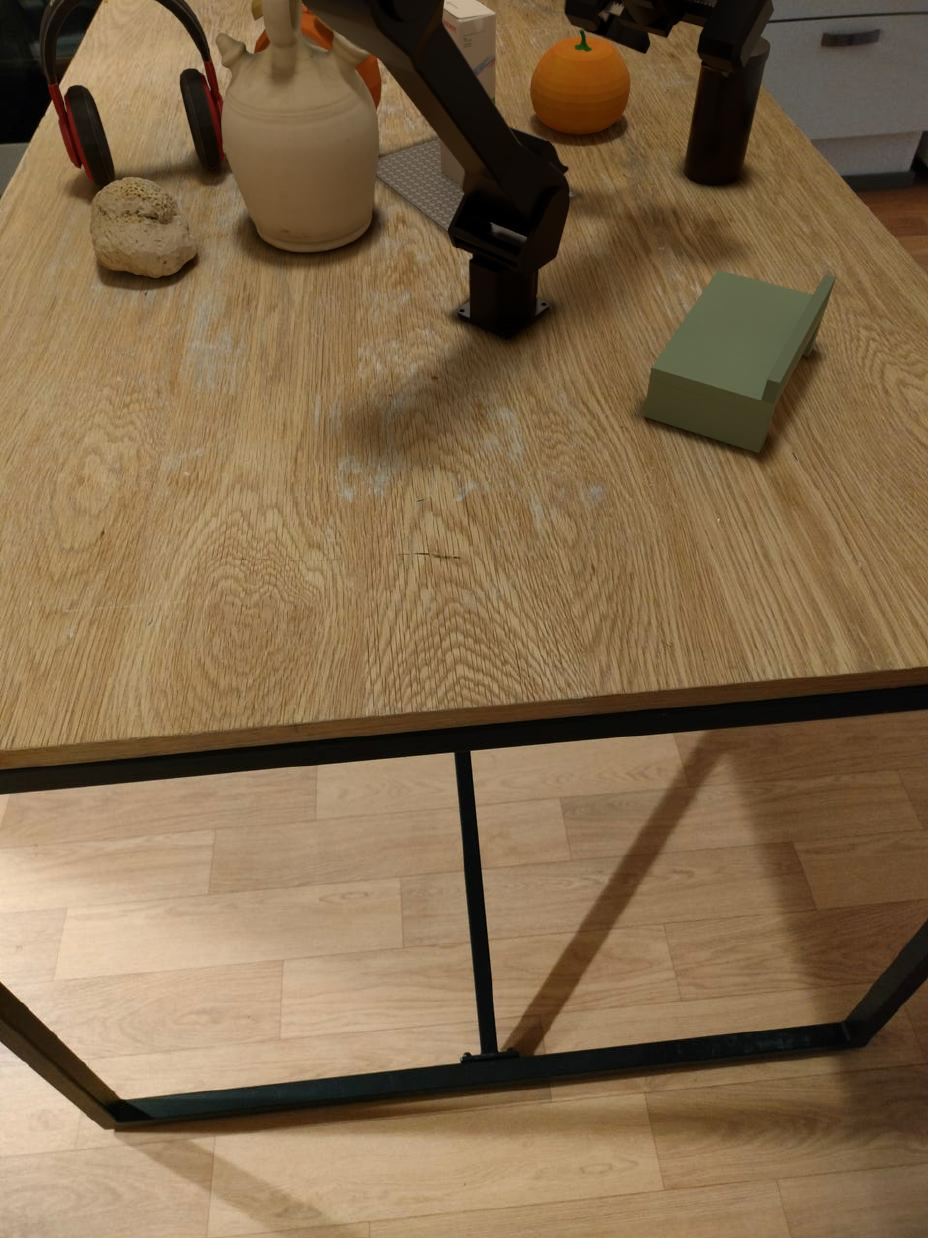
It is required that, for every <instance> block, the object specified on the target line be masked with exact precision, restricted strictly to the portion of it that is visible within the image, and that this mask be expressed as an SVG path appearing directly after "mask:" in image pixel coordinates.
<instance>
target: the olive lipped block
mask: <svg viewBox="0 0 928 1238" xmlns="http://www.w3.org/2000/svg"><path fill="white" fill-rule="evenodd" d="M836 279H837V277H835V276H832V275H829V274H824V275H823V276H822V278H821V280H820V282H819V284H818V285H817V288H816V289H815V291H814V292H813V293H809V292H806V291H802V290H798V289H794V288H791V287H786V286H782V285H779V284H775V283H770V282H767V281H763V280H759V279H755V278H751V277H747V276H745V275H744V276H743V275H741V274H736V273H733V272H728V271H724V270H721V269H717V270H716V272H715V273H714V274H713V276H712V278H711V279H710V281H709V282H708V283H707V285H706V286H705V287H704V289H703V291H702V292H701V293H700V295H699V296H698V298H697V300H696V301H695V302H694V304H693V306H692V307H691V308H690V310H689V311H688V313H687V314H686V316H685V317H684V319H683V320H682V322H681V323H680V325H679V326H678V328H677V329H676V330H675V332H674V334H673V335H672V337H671V338H670V339H669V341H668V343H666V346H665V347H664V348H663V350H662V351H661V353H660V354H659V356H658V357H657V359H656V360H655V362H654V363H653V365H652V366H651V368H650V374H649V380H648V386H647V393H646V399H645V403H644V410H643V417H644V418H646V419H650V420H654V421H656V422H660V423H663V424H666V425H669V426H672V427H675V428H678V429H682V430H685V431H688V432H691V433H694V434H697V435H701V436H704V437H707V438H710V439H713V440H715V441H719V442H722V443H725V444H727V445H731V446H734V447H737V448H740V449H745V450H746V451H747V450H748V451H750V452H753V453H756V454H759V453H760V452H761V450H762V448H763V446H764V444H765V443H766V439H767V435H768V432H769V429H770V426H771V423H772V420H773V416H774V412H775V409H776V406H777V404H778V402H779V400H780V398H781V396H782V394H783V392H784V390H785V388H786V387H787V384H788V383H789V381H790V379H791V377H792V375H793V374H794V372H795V369H796V368H797V365H798V363H799V362H800V360H801V358H802V356H804V357H810V355H811V353H812V351H813V349H814V347H815V344H816V340H817V338H818V334H819V331H820V328H821V325H822V322H823V319H824V316H825V312H826V310H827V307H828V304H829V301H830V298H831V295H832V292H833V288H834V285H835V282H836Z"/></svg>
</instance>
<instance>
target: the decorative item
mask: <svg viewBox="0 0 928 1238" xmlns="http://www.w3.org/2000/svg"><path fill="white" fill-rule="evenodd" d="M91 202H92V203H91V204H90V212H91V214H90V221H89V232H90V236H91V244H92V246H93V251H94V256H95V258H96V260H97V261H98V263H99V264H100V266H102V267H104V268H105V269H108V270H110V271H116V272H124V271H125V272H128V273H130V274H134V275H136V276H143V277H151V278H154V279H158V278H160V277H162V276H164V277H165V276H166V277H167V276H170V275H173V274H175V273H177V272H179V271H180V270H181V269H182V267H183V266H184V265H185V264H186V263H187V262H188V261H190V260H191V259H194V257H195V256H196V255H197V254H198V240H197V238H196V236H195V234H194V232H193V231H192V229H191V227H190V225H189V222H188V221H187V219H186V218H185V216H184V214H183V212H181V211H180V209H179V205H178V201H177V200H176V199H175V197H174V196H173V195H172V193H170V192H169V191H166V190H165V189H163V187H161V186H160V185H159V184H157V183H155V182H154V181H151V180H150V179H147V178H142V177H139V176H138V177H137V176H128V177H127V176H126V177H123V178H122V179H121V180H120V179H115V180H114V181H113V182H111V183H110V184H109V185H107V186H105V187H103V188H102V189H101V190H99V191H98V192H97V193H96V194H95V195H94V197H93V199H92V200H91Z"/></svg>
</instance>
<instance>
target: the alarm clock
mask: <svg viewBox="0 0 928 1238" xmlns="http://www.w3.org/2000/svg"><path fill="white" fill-rule="evenodd" d="M250 5H251V7H250V10H251V14H252V17H253V20H254V21H255V22H256V21H257V20H259V19H261V18H263V13H262V5H261V0H252V1H251V4H250ZM301 32H302V35H303V38H304V39H305V40H306V41H307V42H308V43H309V44H311V45H315V46H318V47H321V48H324V49H326V50H328V51H329V50H331V49H332V41H333V39H334V35H333V29H332V28H331V27H329V26H328V25H327V24H326V23H324V22H323V21H322V20H321V19H319V18H318V17H317V16H316V15H315V14H313V13H312V12H311V11H310V10H309V9H308V8H307V7H306V6H305V5H304V4H303V2H302V23H301ZM270 44H271V42H270V41H269V39H268V36H267V33H266V30H265V28H264V29H263V31H262V32H261V33H260V35H259V36H258V38H257V40H256V42H255V45H254V50H253V54H255V53H258V52H261V51H263V50H265V49H267V48H268V47H269V45H270ZM355 70H356V71H357V72H358V73H359V75H360V76H361V77H362V79H363V81H364V83H365V85H366V86H367V88H368V90H369V92H370V94H371V96H372V99H373V101H374V104H375V108H376V112H377V111H378V108H379V105H380V103H381V100H382V75H381V69H380V66H379V59H378V58H376V57H375V56H373V55H372V54H370V56H369V57H368V58H367V59H364V60H363V61H362V62H361V63H359V64H358V65H356V67H355Z"/></svg>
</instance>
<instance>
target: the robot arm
mask: <svg viewBox="0 0 928 1238" xmlns="http://www.w3.org/2000/svg"><path fill="white" fill-rule="evenodd" d="M444 1H445V0H302V2H303V4H304V5H305V6H306V7H307V8H308V9H309V10H310V11H311V12H312V13H313V14H315V15H316V16H317V17H318V18H319V19H321V20H322V21H323V22H324V23H326V24H327V25H328V26H329V27H331V28H332V29H333V30H334V31H335V32H337V33H338V34H340V35H341V36H343V37H345V38H346V39H348V40H349V41H351V42H353V43H354V44H356V45H357V46H359V47H361V48H362V49H364V50H365V51H367V52H368V53H370V54H372V55H373V56H375V57H376V58H377V60H378V61H380V63H382V64H383V66H384V67H385V69H386V70H387V71H388V72H389V74H390V75H391V76H392V78H393V79H394V80H395V82H396V83H397V84H398V86H399V87H400V88H401V90H402V91H403V92H404V93H405V94H406V96H407V97H408V99H409V100H410V101H411V102H412V104H413V105H414V106H415V108H416V109H417V110H418V112H419V113H420V114H421V115H422V117H423V118H424V119H425V120H426V122H427V124H428V125H429V126H430V127H431V129H432V130H433V131H434V133H435V134H436V135H437V136H438V137H439V139H441V140H442V141H443V143H444V144H445V145H446V147H447V148H448V149H449V150H450V152H451V153H452V154H453V156H454V157H455V158H456V160H457V161H458V162H459V163H460V165H461V166H462V167H463V169H464V176H463V181H462V190H463V192H464V195H463V197H462V199H461V202H460V204H459V206H458V208H457V210H456V212H455V214H454V217H453V219H452V221H451V223H450V225H449V227H448V231H447V235H448V238H449V240H450V243H451V246H452V248H455V249H460V250H462V251H465V252H467V253H469V254H471V255H472V257H471V258H470V259H469V260H468V280H469V282H468V285H469V289H468V290H469V291H468V293H469V295H468V296H469V300H468V301H467V302H466V303H464V304H463V305H462V306H460V307H459V308H457V309H456V316H457V317H458V318H460V319H462V320H465V321H467V322H469V323H471V324H473V325H476V326H477V327H480V328H482V329H484V330H486V331H489V332H491V333H493V334H495V335H497V336H500V337H502V338H504V339H507V340H511V339H513V338H515V337H516V336H517V335H519V334H520V333H521V332H522V331H524V330H525V329H526V328H527V327H529V326H530V325H531V324H532V323H534V322H535V321H536V320H538V319H539V318H540V317H541V316H543V315H545V313H546V312H548V311H549V310H550V303H549V302H548V301H545V300H543V299H542V298H538V297H537V295H538V290H539V270H540V269H542V268H544V267H545V266H546V265H548V264H549V263H551V262H552V261H553V260H555V259H556V258H557V257H558V253H559V249H560V245H561V242H562V238H563V234H564V230H565V226H566V222H567V218H568V215H569V211H570V206H571V198H570V196H569V193H570V192H571V191H570V184H569V181H568V178H567V176H566V175H565V174H566V173H567V172H569V170H570V169H569V166H567V165H565V164H564V163H562V161H561V159H560V158H559V155H558V152H557V148H556V147H555V146H554V144H553V143H552V142H551V140H549V139H545V138H542V137H540V136H537V135H535V134H531V133H529V132H526V131H523V130H520V129H518V128H515V127H512V126H509V124H508V122H507V121H506V119H505V118H504V116H503V115H502V113H501V112H500V109H498V106H497V105H496V103H495V104H494V102H493V101H492V99H491V98H490V96H489V95H488V93H487V91H486V90H485V88H484V87H483V85H482V84H481V82H480V80H479V79H478V77H477V76H476V74H475V73H474V71H473V69H472V68H471V66H470V65H469V63H468V62H467V60H466V59H465V57H464V55H463V54H462V52H461V51H460V49H459V48H458V46H457V44H456V43H455V41H454V40H453V38H452V37H451V35H450V34H449V32H448V30H447V29H446V27H445V26H444V23H443V21H442V18H443V9H444ZM303 4H302V5H303ZM563 11H564V15H565V16H566V19H567V20H568V22H569V23H570V25H571V26H574V27H577V28H580V29H583V30H584V32H586V33H590V34H592V35H595V36H597V37H600V38H601V39H604V40H606V41H610V42H613V43H615V44H617V45H621V46H623V47H625V48H628V49H631V50H633V51H635V52H637V53H641V54H643V55H645V54H647V52H648V51H649V49H650V46H651V39H650V35H649V34H651V35H655V36H658V37H662V38H666V39H668V37H669V36H670V33H671V32H672V30H673V28H674V26H677V25H678V24H679V23H680V22H682V23H686V24H690V25H694V26H697V27H700V28H702V29H701V31H700V33H699V35H698V42H697V48H696V53H697V55H698V58H699V59H700V60H701V61H700V66H701V65H702V66H703V67H705V68H707V69H709V70H711V71H712V72H714V73H716V74H718V75H720V76H722V77H724V78H727V77H728V75H729V73H730V72H733V73H736V72H738V71H739V70H741V69H743V68H744V67H745V65H746V63H747V61H748V59H749V57H750V55H751V53H752V51H753V50H754V48H755V46H756V44H757V42H758V40H759V38H760V36H761V37H762V35H763V32H764V30H765V29H766V27H767V25H768V23H769V22H770V19H771V17H772V15H773V13H774V11H775V8H774V4H773V0H563ZM490 222H491V223H490ZM492 223H493V224H492Z"/></svg>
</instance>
